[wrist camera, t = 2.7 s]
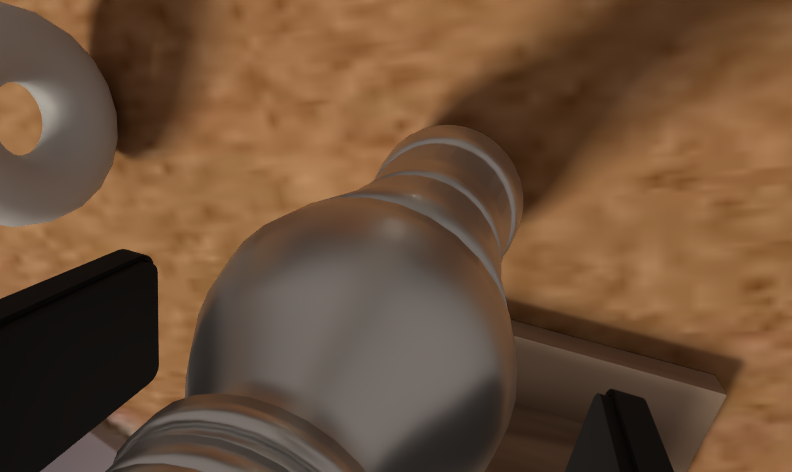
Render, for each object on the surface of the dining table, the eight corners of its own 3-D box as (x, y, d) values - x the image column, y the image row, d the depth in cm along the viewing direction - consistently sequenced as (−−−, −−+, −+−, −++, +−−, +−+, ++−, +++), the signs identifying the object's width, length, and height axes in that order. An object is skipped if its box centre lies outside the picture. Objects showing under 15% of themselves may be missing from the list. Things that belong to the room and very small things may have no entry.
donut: (147, 200, 27) (-41, 263, 18) (98, 195, 28) (-104, 253, 19) (116, 13, 24) (-132, -23, 15) (63, 13, 25) (-204, -21, 16)
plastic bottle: (533, 124, 21) (596, 503, 2) (513, 263, 23) (472, 996, 5) (393, 114, 22) (-222, 307, 4) (388, 247, 24) (-15, 759, 6)
